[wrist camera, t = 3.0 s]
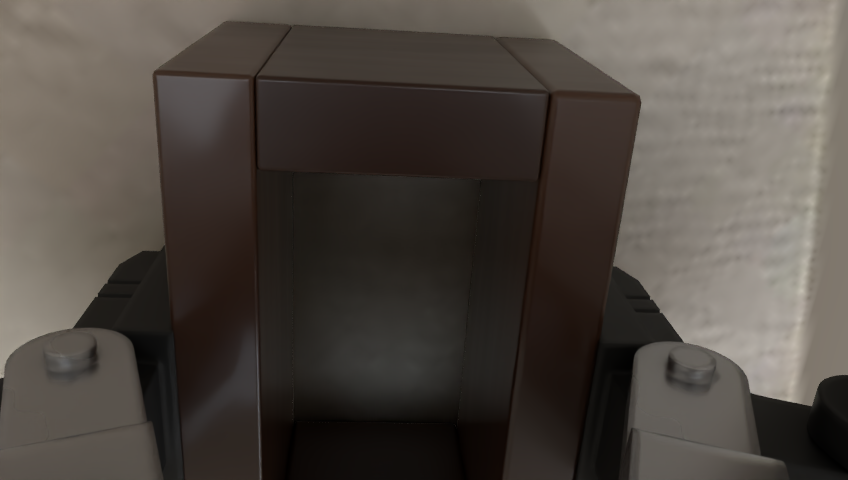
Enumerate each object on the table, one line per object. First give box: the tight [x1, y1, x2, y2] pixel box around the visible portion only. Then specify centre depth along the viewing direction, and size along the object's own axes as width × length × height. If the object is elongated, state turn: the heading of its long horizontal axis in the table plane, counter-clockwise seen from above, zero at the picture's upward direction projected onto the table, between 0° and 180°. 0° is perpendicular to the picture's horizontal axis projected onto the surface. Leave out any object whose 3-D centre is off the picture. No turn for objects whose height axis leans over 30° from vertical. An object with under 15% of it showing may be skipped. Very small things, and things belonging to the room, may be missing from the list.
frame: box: [153, 21, 641, 480], centre depth 11 cm, size 8×5×4 cm, turn 176°
